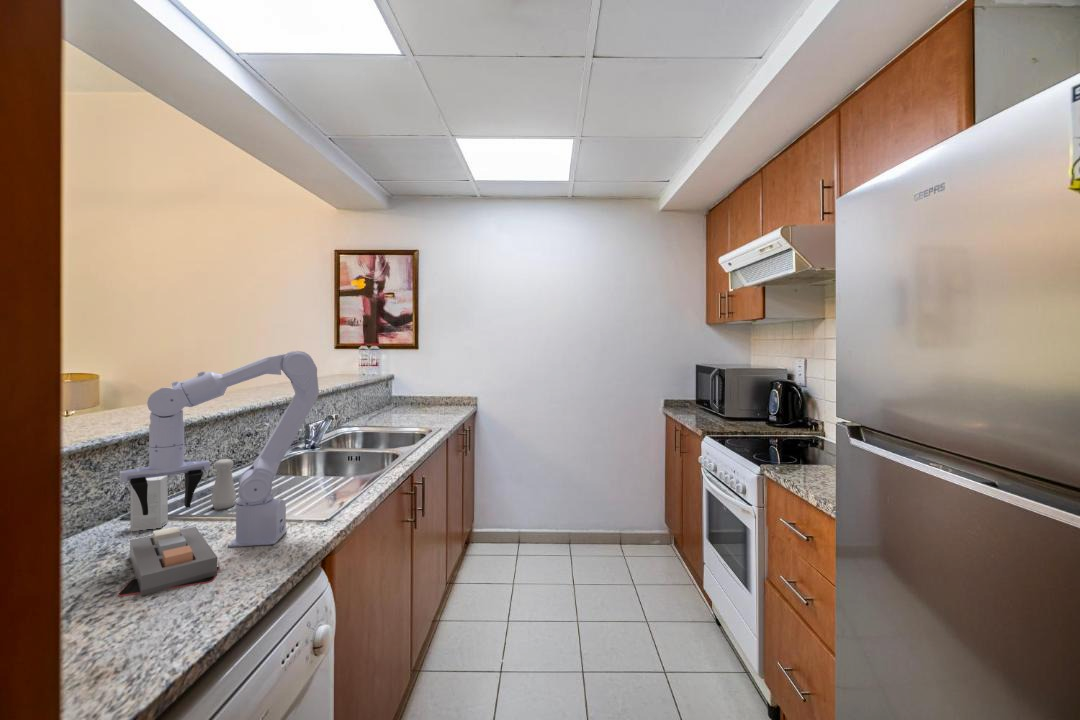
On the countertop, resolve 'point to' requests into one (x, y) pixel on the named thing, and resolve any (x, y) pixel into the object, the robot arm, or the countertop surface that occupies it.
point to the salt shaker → (223, 485)
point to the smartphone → (133, 589)
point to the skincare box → (150, 505)
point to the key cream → (165, 534)
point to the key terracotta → (177, 556)
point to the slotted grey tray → (162, 578)
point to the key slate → (171, 543)
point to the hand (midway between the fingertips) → (166, 510)
